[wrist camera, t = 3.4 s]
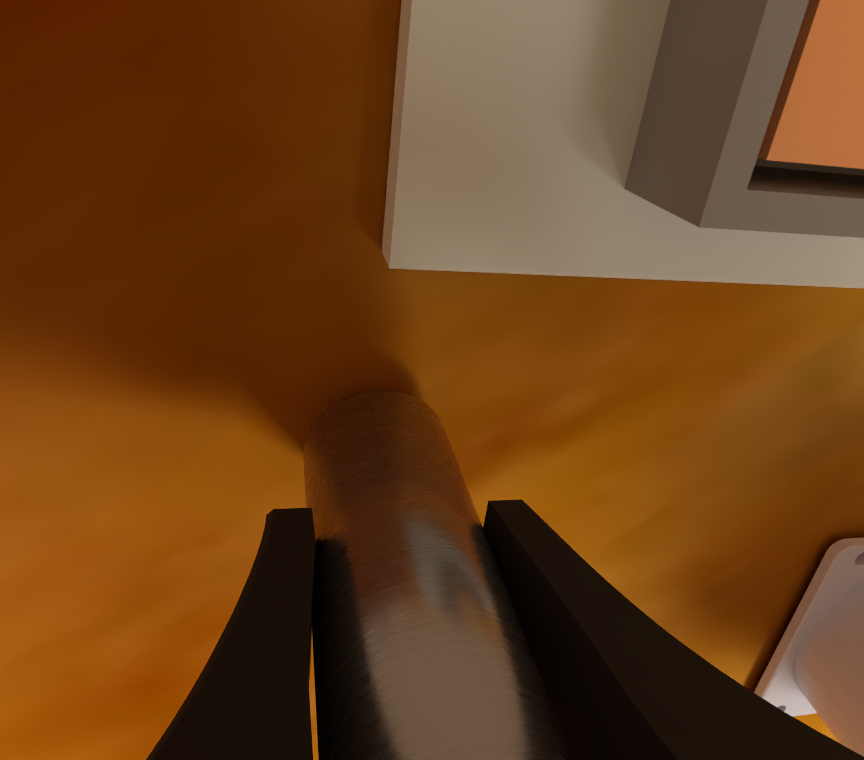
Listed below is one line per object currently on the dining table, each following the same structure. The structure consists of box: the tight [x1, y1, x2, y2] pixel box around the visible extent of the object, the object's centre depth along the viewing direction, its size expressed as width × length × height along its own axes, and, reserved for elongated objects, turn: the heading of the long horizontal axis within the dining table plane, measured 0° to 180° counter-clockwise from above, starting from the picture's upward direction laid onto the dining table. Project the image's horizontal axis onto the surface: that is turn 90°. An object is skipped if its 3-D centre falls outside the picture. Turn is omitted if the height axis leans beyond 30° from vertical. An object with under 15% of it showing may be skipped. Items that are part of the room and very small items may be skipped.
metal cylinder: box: [303, 389, 573, 760], centre depth 10 cm, size 3×3×9 cm
